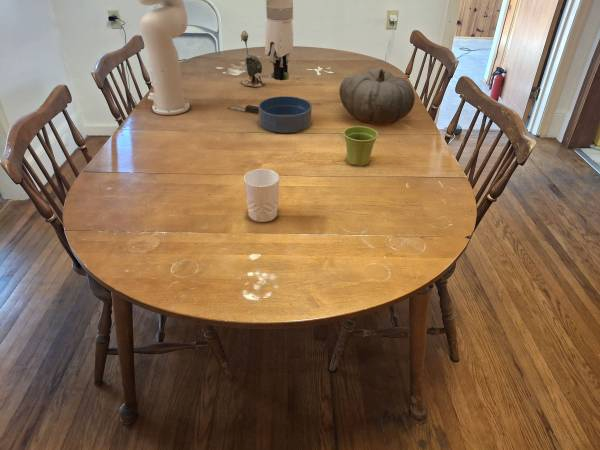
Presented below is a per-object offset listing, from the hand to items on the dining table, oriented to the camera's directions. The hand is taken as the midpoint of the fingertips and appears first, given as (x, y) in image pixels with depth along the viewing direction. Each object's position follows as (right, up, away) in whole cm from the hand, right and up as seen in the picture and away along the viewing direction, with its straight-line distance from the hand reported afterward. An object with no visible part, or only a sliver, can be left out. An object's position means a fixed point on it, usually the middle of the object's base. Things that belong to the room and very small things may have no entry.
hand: (280, 78), depth 141 cm
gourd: (+31, -8, +16) cm, 36 cm away
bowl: (+1, -12, +10) cm, 16 cm away
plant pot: (+22, -27, -10) cm, 37 cm away
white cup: (-3, -43, -32) cm, 54 cm away
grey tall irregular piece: (-12, +10, +40) cm, 43 cm away
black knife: (-13, -5, +19) cm, 24 cm away
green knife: (-3, +1, +1) cm, 3 cm away
